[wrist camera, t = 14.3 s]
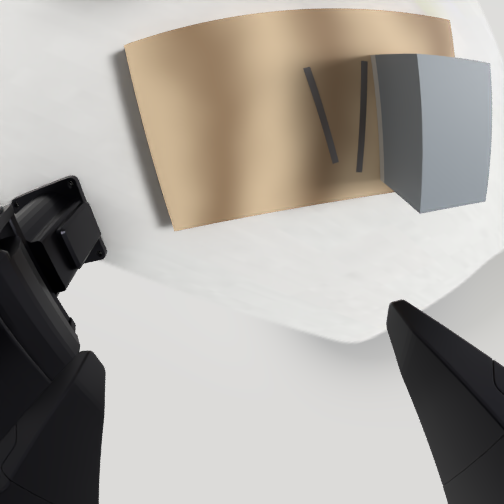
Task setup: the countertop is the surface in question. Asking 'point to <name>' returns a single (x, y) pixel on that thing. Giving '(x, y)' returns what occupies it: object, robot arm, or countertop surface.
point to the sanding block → (434, 128)
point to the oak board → (270, 107)
